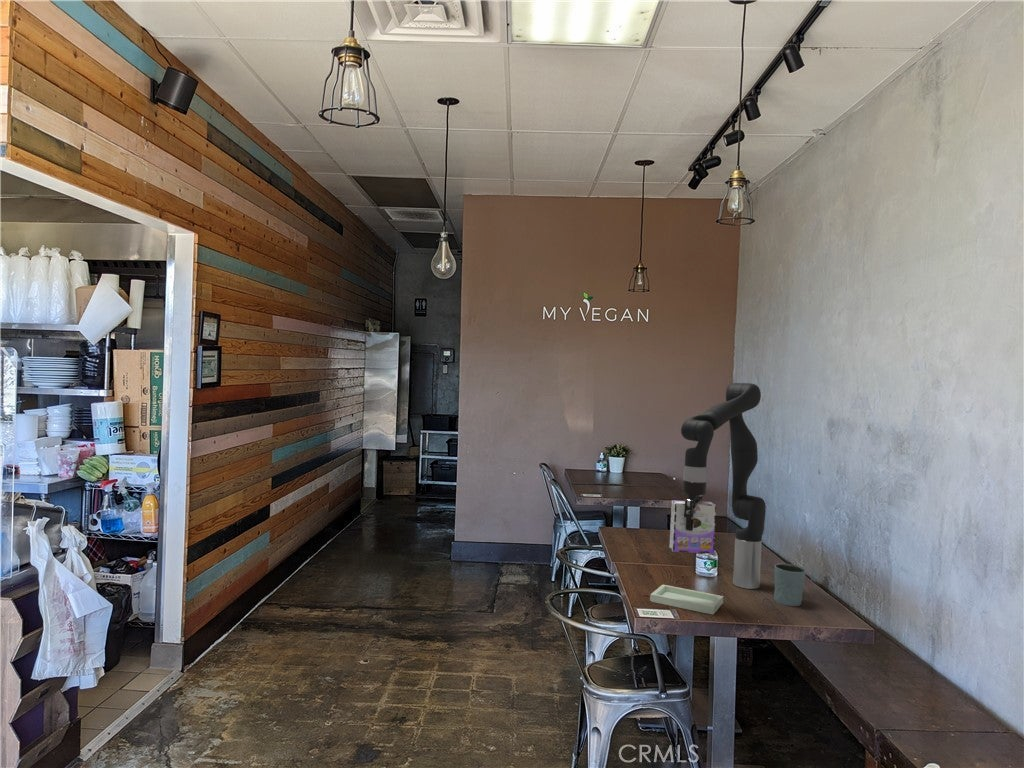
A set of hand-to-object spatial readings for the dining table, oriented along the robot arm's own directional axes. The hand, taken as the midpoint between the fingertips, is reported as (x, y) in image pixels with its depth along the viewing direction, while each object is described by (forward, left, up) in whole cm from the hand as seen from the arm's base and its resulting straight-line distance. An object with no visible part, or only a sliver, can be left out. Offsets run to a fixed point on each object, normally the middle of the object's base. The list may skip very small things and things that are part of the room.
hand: (692, 528), depth 226 cm
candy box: (0, 0, -8) cm, 8 cm away
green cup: (-23, +28, -25) cm, 44 cm away
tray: (0, -1, -25) cm, 25 cm away
